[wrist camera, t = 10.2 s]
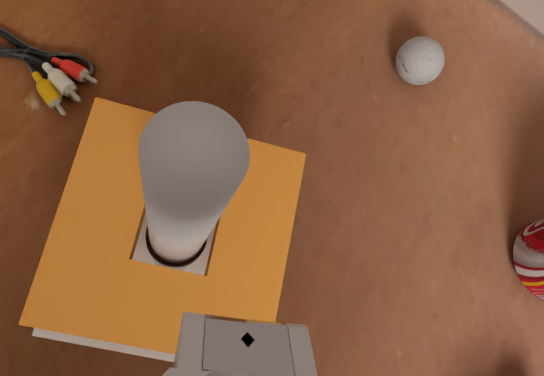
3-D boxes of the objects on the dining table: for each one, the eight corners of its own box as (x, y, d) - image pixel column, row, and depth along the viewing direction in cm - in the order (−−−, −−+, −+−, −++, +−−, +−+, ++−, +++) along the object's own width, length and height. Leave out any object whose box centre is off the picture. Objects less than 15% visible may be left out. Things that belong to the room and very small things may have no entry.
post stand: (248, 374, 33) (402, 476, 12) (37, 334, 30) (-222, 377, 10) (285, 184, 37) (447, 16, 16) (102, 136, 35) (16, -130, 14)
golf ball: (379, 74, 41) (401, 50, 38) (400, 43, 43) (423, 17, 39) (415, 101, 42) (441, 80, 38) (435, 70, 43) (462, 46, 39)
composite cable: (-39, 43, 34) (-53, 23, 32) (11, 2, 36) (1, -20, 34) (69, 128, 35) (63, 114, 32) (115, 83, 36) (111, 67, 34)
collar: (258, 367, 26) (266, 371, 24) (29, 323, 24) (18, 324, 22) (296, 164, 29) (306, 153, 28) (99, 112, 27) (95, 96, 26)
